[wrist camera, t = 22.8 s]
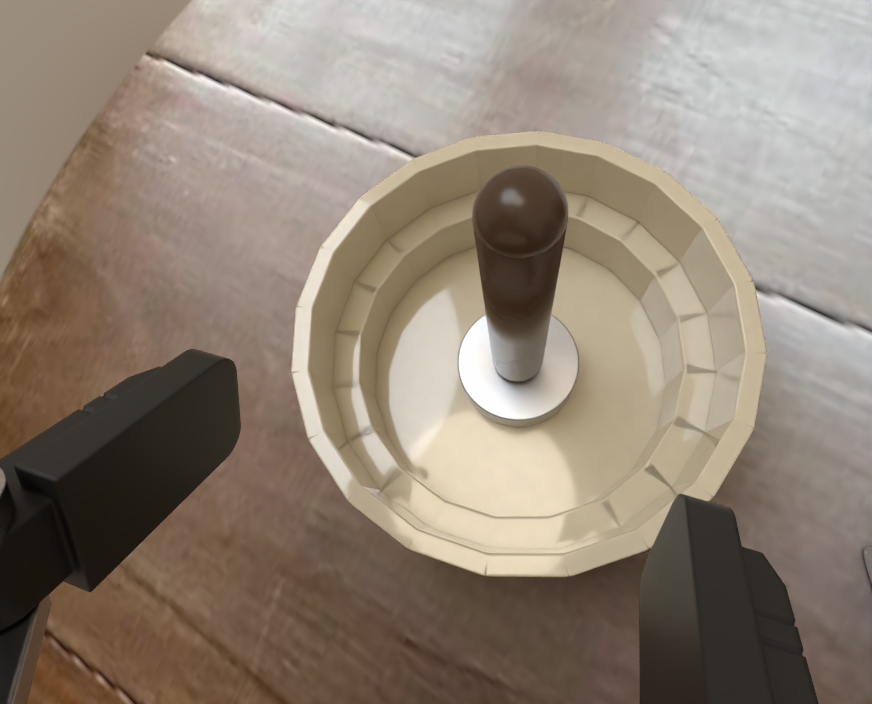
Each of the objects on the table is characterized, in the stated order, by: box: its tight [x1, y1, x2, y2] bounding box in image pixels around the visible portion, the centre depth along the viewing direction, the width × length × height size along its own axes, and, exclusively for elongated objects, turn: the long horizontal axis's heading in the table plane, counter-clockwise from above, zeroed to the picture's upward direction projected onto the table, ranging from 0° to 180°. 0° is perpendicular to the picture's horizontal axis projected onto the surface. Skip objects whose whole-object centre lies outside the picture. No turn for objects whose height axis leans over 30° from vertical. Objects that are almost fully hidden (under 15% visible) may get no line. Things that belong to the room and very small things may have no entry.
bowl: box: [291, 131, 767, 577], centre depth 20 cm, size 14×14×6 cm
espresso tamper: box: [458, 165, 579, 427], centre depth 16 cm, size 4×4×13 cm
